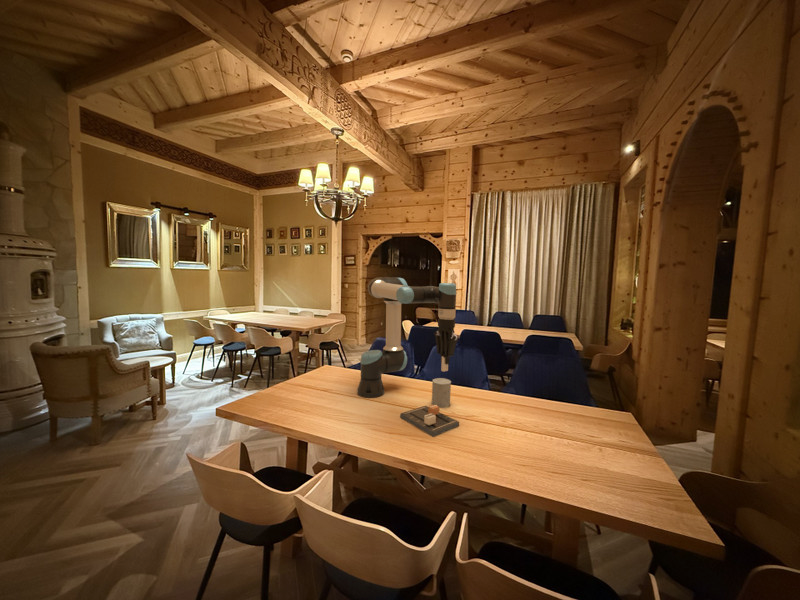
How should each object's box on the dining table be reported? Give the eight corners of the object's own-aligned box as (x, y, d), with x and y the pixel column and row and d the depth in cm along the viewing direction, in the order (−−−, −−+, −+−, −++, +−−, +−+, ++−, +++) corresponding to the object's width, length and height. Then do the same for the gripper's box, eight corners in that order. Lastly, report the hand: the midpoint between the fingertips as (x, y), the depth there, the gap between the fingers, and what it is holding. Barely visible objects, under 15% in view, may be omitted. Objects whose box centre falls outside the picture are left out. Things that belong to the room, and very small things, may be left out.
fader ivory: (424, 422, 140) (424, 414, 140) (430, 420, 142) (431, 412, 142) (428, 425, 138) (429, 417, 137) (435, 422, 140) (435, 415, 140)
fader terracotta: (428, 413, 150) (428, 406, 149) (434, 411, 152) (434, 404, 152) (432, 415, 147) (432, 408, 147) (438, 413, 150) (439, 406, 149)
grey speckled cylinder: (449, 401, 171) (450, 378, 170) (450, 408, 162) (451, 384, 161) (431, 400, 172) (432, 377, 171) (431, 407, 162) (432, 383, 161)
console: (400, 417, 150) (400, 413, 150) (425, 409, 160) (425, 405, 160) (433, 436, 133) (433, 432, 133) (459, 426, 143) (459, 421, 143)
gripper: (430, 316, 144) (428, 368, 146) (451, 320, 134) (449, 376, 136) (441, 315, 149) (440, 365, 151) (463, 319, 138) (461, 373, 140)
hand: (444, 370), depth 143 cm, fingers closed
